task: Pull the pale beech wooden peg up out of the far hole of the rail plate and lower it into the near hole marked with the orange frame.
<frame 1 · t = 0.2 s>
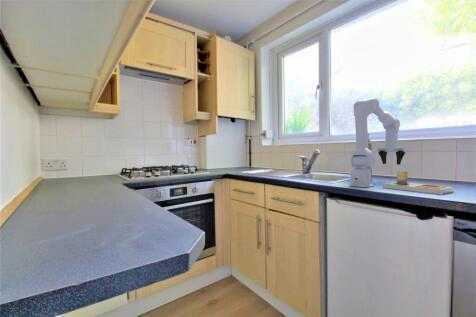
hand: (391, 164, 130), 10 cm above the worktop, tool pointing down, fingers open, 7 cm apart
peg: (402, 188, 109), resting in rail plate
rail plate: (415, 189, 104), on the worktop
thermos bottle: (364, 180, 139), on the worktop
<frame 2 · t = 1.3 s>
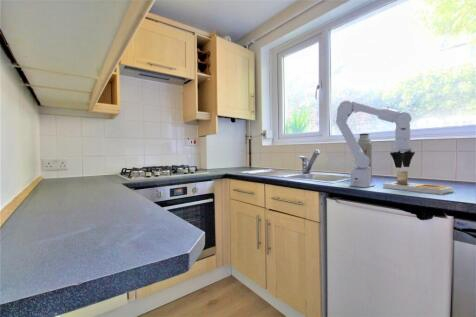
hand: (402, 167, 109), 10 cm above the worktop, tool pointing down, fingers open, 7 cm apart
nothing on the worktop moved.
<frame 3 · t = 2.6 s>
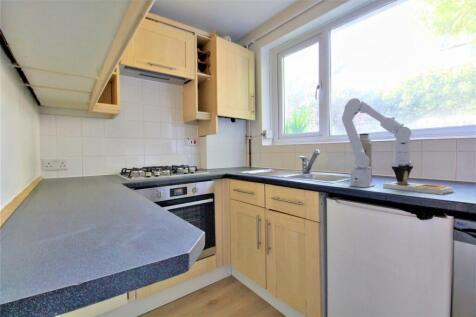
hand: (402, 181, 109), 3 cm above the worktop, tool pointing down, fingers closed on peg, 4 cm apart
peg: (402, 188, 109), resting in rail plate, touching gripper
everything else where it was.
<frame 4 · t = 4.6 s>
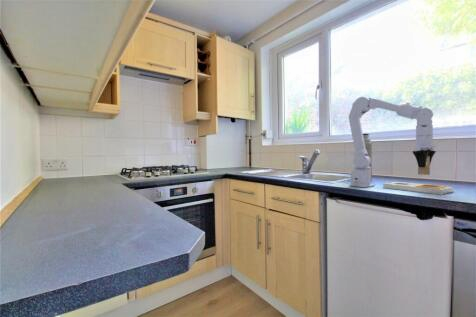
hand: (424, 167, 102), 10 cm above the worktop, tool pointing down, fingers closed on peg, 4 cm apart
peg: (423, 174, 102), point 7 cm above the worktop, touching gripper
everything else where it was.
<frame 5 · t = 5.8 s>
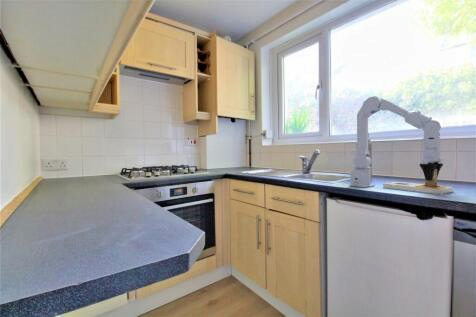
hand: (431, 180, 99), 5 cm above the worktop, tool pointing down, fingers closed on peg, 4 cm apart
peg: (430, 187, 100), point 2 cm above the worktop, touching gripper
everything else where it was.
when the fingers open (4 cm above the worktop, at t = 6.7 s): peg drops 1 cm, resting in rail plate.
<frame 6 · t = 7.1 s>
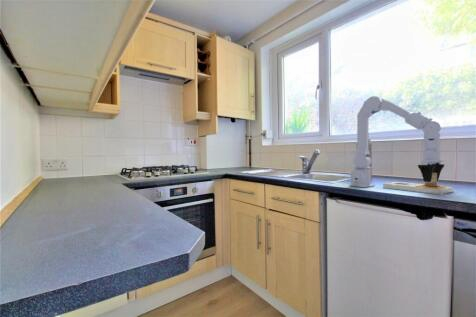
hand: (431, 181, 99), 4 cm above the worktop, tool pointing down, fingers open, 7 cm apart
peg: (430, 191, 100), resting in rail plate
everything else where it was.
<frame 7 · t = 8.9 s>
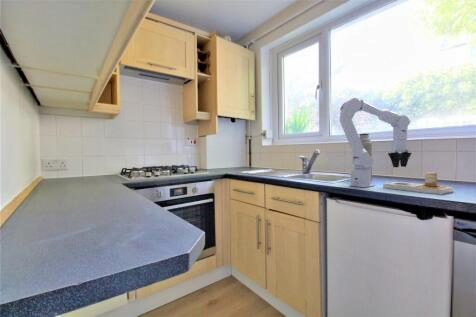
hand: (399, 167, 116), 9 cm above the worktop, tool pointing down, fingers open, 7 cm apart
nothing on the worktop moved.
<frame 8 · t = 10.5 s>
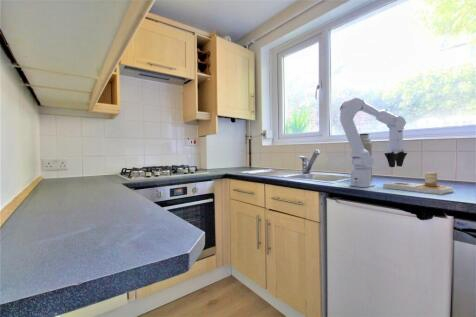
hand: (395, 166, 118), 9 cm above the worktop, tool pointing down, fingers open, 7 cm apart
nothing on the worktop moved.
at the end: peg 0.1 cm from the target spot on the rail plate, point 0.0 cm above the rail plate's base; peg tilted 0°; the gripper is holding nothing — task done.
